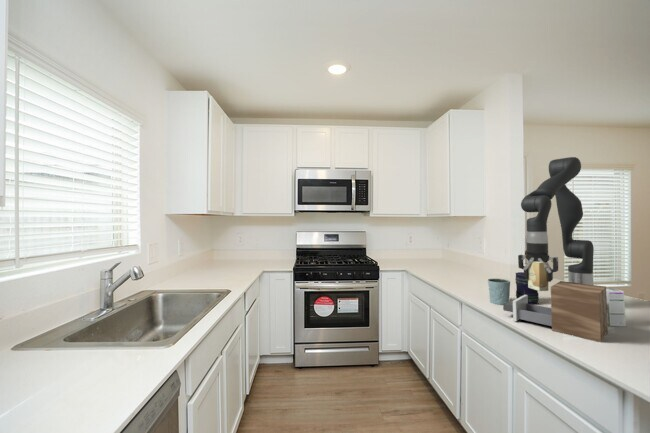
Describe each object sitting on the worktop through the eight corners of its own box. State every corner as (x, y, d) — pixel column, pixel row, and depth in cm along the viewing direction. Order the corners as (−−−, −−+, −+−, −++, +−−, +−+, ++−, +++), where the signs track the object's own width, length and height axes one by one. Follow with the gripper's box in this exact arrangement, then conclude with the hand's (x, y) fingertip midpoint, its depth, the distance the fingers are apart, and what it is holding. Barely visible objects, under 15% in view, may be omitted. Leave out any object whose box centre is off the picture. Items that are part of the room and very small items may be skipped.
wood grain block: (561, 321, 122) (560, 281, 122) (607, 331, 111) (606, 286, 111) (552, 330, 112) (550, 286, 113) (600, 342, 101) (599, 293, 102)
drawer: (512, 310, 136) (512, 292, 136) (563, 320, 121) (562, 301, 121) (500, 317, 127) (499, 298, 127) (553, 329, 112) (552, 308, 112)
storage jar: (514, 302, 150) (513, 274, 150) (517, 298, 157) (516, 271, 157) (537, 306, 143) (536, 276, 143) (540, 301, 150) (539, 273, 151)
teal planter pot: (510, 301, 151) (510, 279, 152) (511, 307, 143) (510, 283, 143) (488, 299, 157) (488, 277, 157) (488, 304, 148) (487, 281, 148)
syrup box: (626, 326, 115) (625, 291, 115) (609, 326, 116) (608, 290, 116) (615, 321, 120) (614, 287, 121) (598, 321, 122) (597, 287, 122)
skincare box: (527, 287, 125) (526, 260, 125) (536, 287, 126) (536, 259, 126) (539, 291, 119) (539, 262, 119) (549, 291, 119) (548, 261, 119)
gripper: (560, 242, 119) (561, 281, 119) (520, 240, 130) (521, 276, 130) (555, 243, 114) (556, 284, 114) (514, 241, 126) (515, 278, 125)
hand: (538, 280), depth 122 cm, fingers closed on skincare box, 7 cm apart
